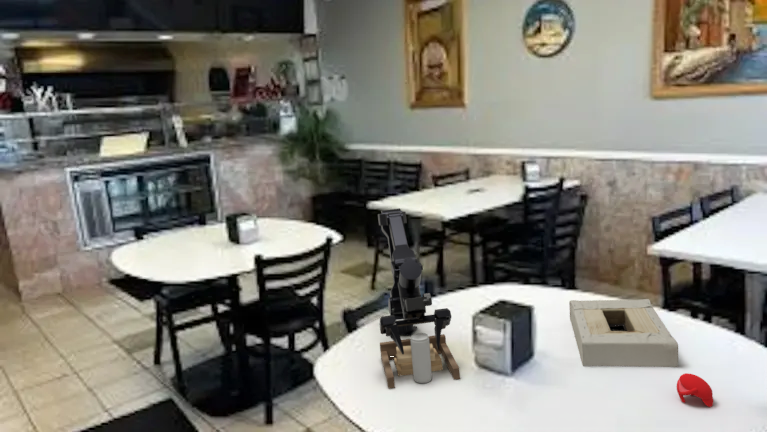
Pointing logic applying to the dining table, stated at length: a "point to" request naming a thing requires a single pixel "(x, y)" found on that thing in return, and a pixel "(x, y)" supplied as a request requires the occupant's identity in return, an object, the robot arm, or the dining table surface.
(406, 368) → the offcut stack
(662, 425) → the dining table surface
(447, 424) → the dining table surface
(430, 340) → the offcut rack
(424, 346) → the beverage can
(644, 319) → the box
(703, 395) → the red curved shell piece
